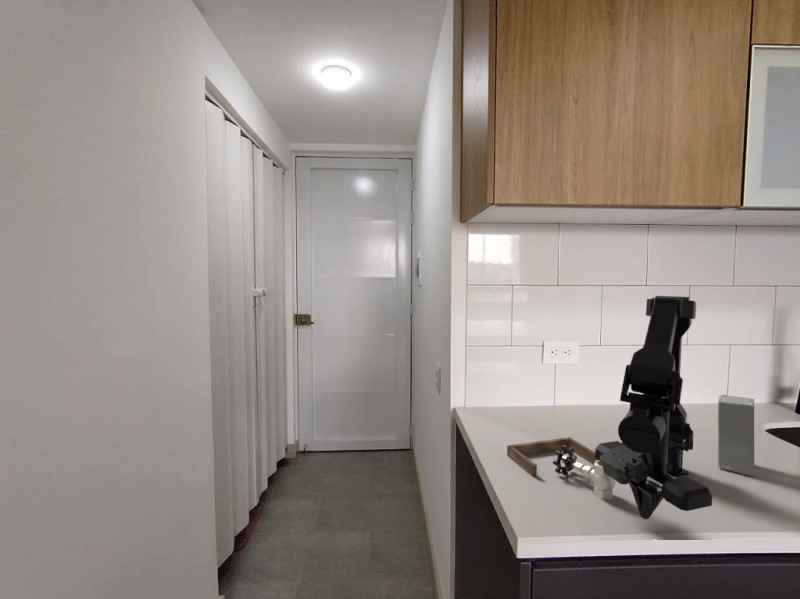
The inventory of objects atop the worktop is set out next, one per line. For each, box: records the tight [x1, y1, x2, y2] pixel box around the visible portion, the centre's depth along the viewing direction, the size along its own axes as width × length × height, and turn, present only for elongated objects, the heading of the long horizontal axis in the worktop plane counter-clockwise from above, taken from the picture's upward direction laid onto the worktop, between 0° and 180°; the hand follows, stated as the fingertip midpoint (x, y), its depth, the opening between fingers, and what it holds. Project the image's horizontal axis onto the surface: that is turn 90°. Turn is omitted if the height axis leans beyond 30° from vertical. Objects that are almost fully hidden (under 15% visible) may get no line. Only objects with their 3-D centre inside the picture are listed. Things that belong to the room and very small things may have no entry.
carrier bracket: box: [506, 436, 598, 477], centre depth 95 cm, size 18×10×2 cm, turn 106°
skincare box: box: [716, 394, 756, 478], centre depth 92 cm, size 8×7×16 cm
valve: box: [552, 445, 616, 501], centre depth 84 cm, size 7×7×12 cm
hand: (644, 517), depth 71 cm, fingers closed
